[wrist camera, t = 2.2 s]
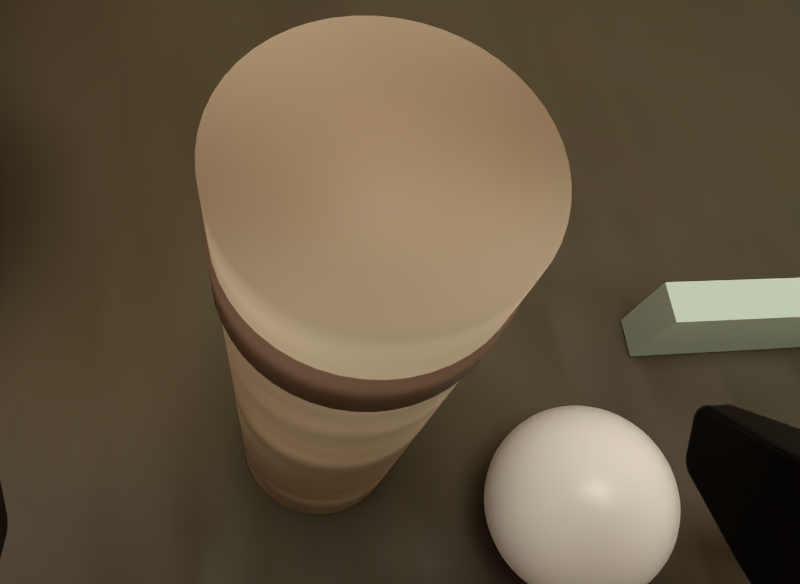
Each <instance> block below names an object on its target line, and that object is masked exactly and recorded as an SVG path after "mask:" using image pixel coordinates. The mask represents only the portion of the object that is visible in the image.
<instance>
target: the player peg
mask: <svg viewBox="0 0 800 584" xmlns="http://www.w3.org/2000/svg"><path fill="white" fill-rule="evenodd" d="M195 172H196V180H197V186H198V192H199V197H200V203H201V208H202V214H203V222H202V227H203V245H204V250H205V255H206V260H207V266H208V271H209V276H210V281H211V287H212V292H213V297H214V302H215V306H216V309H217V311H218V314H219V317H220V320H221V322H222V326H223V332H224V337H225V343H226V349H227V354H228V360H229V366H230V371H231V377H232V382H233V388H234V394H235V399H236V405H237V410H238V416H239V422H240V427H241V433H242V438H243V444H244V450H245V455H246V460H247V463H248V466H249V469H250V471H251V473H252V475H253V477H254V479H255V481H256V482H257V483H258V485H259V486H260V488H261V489H262V490H263V491H264V492H265V493H266V494H267V495H268V496H269V497H270V498H272V499H273V500H274V501H275V502H277V503H279V504H280V505H282V506H284V507H286V508H288V509H291V510H293V511H297V512H300V513H305V514H319V515H323V514H330V513H335V512H339V511H342V510H345V509H347V508H349V507H352V506H353V505H355V504H357V503H358V502H360V501H361V500H363V499H364V498H365V497H367V496H368V495H369V494H370V493H371V492H372V491H373V490H374V489H375V488H376V486H377V485H378V484H379V482H380V481H381V480H382V479H383V477H384V476H385V475H386V473H387V472H388V471H389V470H390V468H391V467H392V466H393V465H394V463H395V462H396V461H397V459H398V458H399V457H400V456H401V454H402V453H403V452H404V451H405V449H406V448H407V447H408V445H409V444H410V443H411V442H412V440H413V439H414V438H415V436H416V435H417V434H418V433H419V431H420V430H421V429H422V428H423V426H424V425H425V424H426V422H427V421H428V420H429V419H430V417H431V416H432V415H433V414H434V412H435V411H436V410H437V408H438V407H439V406H440V405H441V403H442V402H443V401H444V399H445V398H446V397H447V396H448V394H449V393H450V392H451V391H452V389H453V388H454V387H455V385H456V384H457V383H458V382H459V381H460V380H461V379H462V378H464V377H465V376H466V375H467V374H468V373H469V372H470V371H471V370H472V369H473V368H474V367H475V366H476V365H477V363H478V362H479V361H480V360H481V358H482V357H483V356H484V355H485V353H486V352H487V351H488V350H489V349H490V347H491V346H492V345H493V344H494V342H495V341H496V340H497V339H498V337H499V336H500V335H501V334H502V332H503V331H504V330H505V328H506V327H507V326H508V324H509V323H510V321H511V320H512V319H513V317H514V316H515V314H516V312H517V310H518V308H519V307H520V305H521V303H522V301H523V299H524V297H525V296H526V295H527V294H528V292H529V291H530V290H531V288H532V287H533V286H534V285H535V283H536V282H537V281H538V279H539V278H540V277H541V275H542V274H543V273H544V271H545V270H546V269H547V267H548V266H549V265H550V263H551V262H552V260H553V258H554V256H555V255H556V253H557V251H558V249H559V247H560V245H561V243H562V240H563V237H564V234H565V231H566V228H567V225H568V221H569V215H570V209H571V192H572V182H571V175H570V168H569V162H568V158H567V155H566V151H565V148H564V144H563V142H562V140H561V137H560V135H559V133H558V130H557V128H556V126H555V124H554V122H553V120H552V119H551V117H550V115H549V114H548V112H547V110H546V109H545V107H544V106H543V104H542V103H541V102H540V100H539V99H538V98H537V96H536V95H535V94H534V93H533V91H532V90H531V89H530V88H529V87H528V86H527V85H526V84H525V83H524V82H523V81H522V80H521V79H520V77H519V76H518V75H517V74H515V73H514V72H513V71H512V70H511V69H509V68H508V67H507V66H506V65H505V64H503V63H502V62H501V61H500V60H498V59H497V58H495V57H494V56H492V55H491V54H489V53H488V52H487V51H485V50H484V49H482V48H480V47H478V46H477V45H475V44H473V43H471V42H469V41H467V40H465V39H464V38H461V37H459V36H457V35H454V34H452V33H450V32H447V31H445V30H442V29H439V28H436V27H433V26H430V25H426V24H423V23H419V22H415V21H410V20H405V19H400V18H392V17H383V16H346V17H335V18H329V19H324V20H319V21H314V22H310V23H307V24H304V25H301V26H298V27H295V28H292V29H289V30H287V31H285V32H283V33H280V34H278V35H276V36H274V37H272V38H270V39H268V40H267V41H265V42H264V43H262V44H260V45H259V46H257V47H255V48H254V49H253V50H251V51H250V52H249V53H248V54H246V55H245V56H244V57H243V58H242V59H240V60H239V61H238V62H237V63H236V64H235V65H234V66H233V67H232V68H231V69H230V71H229V72H228V73H227V74H226V75H225V76H224V77H223V79H222V80H221V82H220V83H219V84H218V86H217V87H216V89H215V90H214V92H213V93H212V95H211V97H210V99H209V101H208V103H207V106H206V108H205V110H204V112H203V115H202V118H201V122H200V125H199V129H198V132H197V140H196V148H195Z"/></svg>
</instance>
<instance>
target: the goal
mask: <svg viewBox="0 0 800 584" xmlns="http://www.w3.org/2000/svg"><path fill="white" fill-rule="evenodd" d="M621 323H622V327H623V331H624V335H625V339H626V343H627V347H628V351H629V355H630V357H631V356H649V355H667V354H685V353H703V352H722V351H740V350H758V349H776V348H794V347H800V278H780V279H750V280H720V281H690V282H665V283H664V284H663V285H662V286H660V287H659V288H658V289H657V290H656V291H655V292H653V293H652V294H651V295H650V296H649V297H647V298H646V299H645V300H644V301H643V302H642V303H640V304H639V305H638V306H637V307H636V308H635V309H633V310H632V311H631V312H630V313H629V314H628V315H626V316H625V317H624V318H623V319H622V320H621Z"/></svg>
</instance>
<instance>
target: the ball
mask: <svg viewBox="0 0 800 584" xmlns="http://www.w3.org/2000/svg"><path fill="white" fill-rule="evenodd" d="M484 509H485V515H486V521H487V525H488V528H489V531H490V534H491V537H492V539H493V541H494V543H495V546H496V547H497V549H498V551H499V552H500V554H501V556H502V557H503V559H504V560H505V561H506V563H507V564H508V565H509V567H510V568H511V569H512V570H513V571H514V572H515V573H516V574H517V575H518V576H519V577H520V578H521V579H523V580H524V581H525V582H526V583H528V584H648V583H649V582H650V581H651V580H652V579H653V578H654V577H655V576H656V575H657V574H658V573H659V572H660V570H661V569H662V567H663V566H664V565H665V563H666V562H667V560H668V559H669V557H670V555H671V553H672V551H673V548H674V545H675V542H676V539H677V535H678V530H679V525H680V513H681V511H680V498H679V492H678V487H677V484H676V481H675V477H674V475H673V472H672V470H671V468H670V466H669V464H668V462H667V460H666V458H665V457H664V455H663V454H662V452H661V451H660V449H659V448H658V446H657V445H656V444H655V443H654V442H653V441H652V440H651V438H650V437H649V436H647V435H646V434H645V433H644V432H643V431H642V430H641V429H639V428H638V427H637V426H635V425H634V424H633V423H631V422H629V421H628V420H626V419H624V418H622V417H621V416H619V415H616V414H614V413H612V412H609V411H606V410H603V409H599V408H594V407H587V406H563V407H556V408H552V409H548V410H545V411H542V412H540V413H538V414H535V415H533V416H531V417H530V418H528V419H526V420H525V421H523V422H521V423H520V424H519V425H518V426H517V427H515V428H514V429H513V430H512V431H511V432H510V433H509V434H508V436H507V437H506V438H505V439H504V440H503V441H502V443H501V444H500V446H499V447H498V449H497V450H496V452H495V454H494V456H493V458H492V460H491V463H490V466H489V469H488V472H487V475H486V481H485V486H484Z"/></svg>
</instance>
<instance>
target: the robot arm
mask: <svg viewBox="0 0 800 584" xmlns="http://www.w3.org/2000/svg"><path fill="white" fill-rule="evenodd" d="M686 467H687V470H688V473H689V475H690V477H691V479H692V481H693V483H694V485H695V486H696V488H697V490H698V492H699V494H700V495H701V497H702V499H703V501H704V503H705V505H706V506H707V508H708V510H709V512H710V514H711V515H712V517H713V519H714V521H715V523H716V524H717V526H718V528H719V530H720V532H721V534H722V535H723V537H724V539H725V541H726V543H727V544H728V546H729V548H730V550H731V552H732V553H733V555H734V557H735V559H736V560H737V562H738V564H739V565H740V567H741V569H742V570H743V572H744V573H745V575H746V576H747V578H748V579H749V581H750V583H751V584H800V429H799V428H796V427H794V426H791V425H788V424H785V423H782V422H779V421H777V420H774V419H771V418H768V417H765V416H762V415H760V414H757V413H754V412H751V411H748V410H745V409H743V408H740V407H737V406H734V405H731V404H714V405H704V406H701V407H700V408H699V409H698V410H697V411H696V413H695V415H694V419H693V424H692V429H691V433H690V438H689V443H688V447H687V452H686ZM7 523H8V522H7V512H6V507H5V502H4V497H3V492H2V487H1V482H0V557H1V553H2V550H3V546H4V542H5V539H6V534H7Z"/></svg>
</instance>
